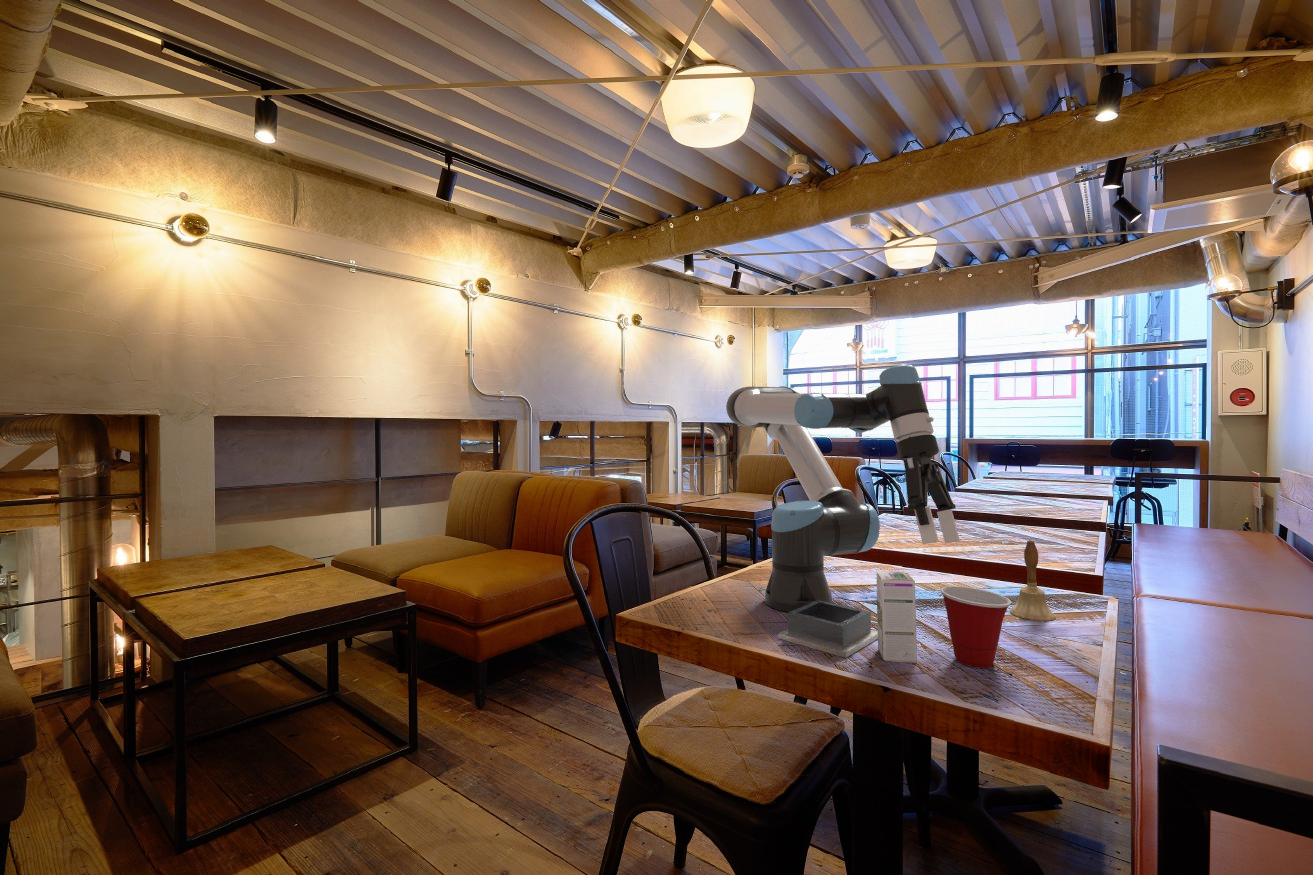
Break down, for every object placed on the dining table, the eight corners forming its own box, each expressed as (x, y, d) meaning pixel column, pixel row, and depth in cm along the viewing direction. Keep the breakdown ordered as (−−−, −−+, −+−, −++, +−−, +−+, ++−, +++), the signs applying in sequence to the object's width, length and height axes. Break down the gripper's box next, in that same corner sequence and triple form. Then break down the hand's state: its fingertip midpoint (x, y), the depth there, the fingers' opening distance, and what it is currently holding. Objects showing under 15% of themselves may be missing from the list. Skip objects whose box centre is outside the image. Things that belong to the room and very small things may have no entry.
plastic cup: (1023, 676, 94) (1023, 603, 93) (952, 673, 95) (952, 601, 95) (995, 651, 104) (995, 585, 104) (932, 648, 106) (932, 583, 106)
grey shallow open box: (778, 638, 112) (778, 612, 112) (815, 620, 122) (815, 597, 122) (846, 657, 102) (845, 629, 102) (880, 637, 112) (880, 611, 112)
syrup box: (917, 663, 99) (917, 579, 99) (881, 661, 101) (881, 578, 100) (910, 650, 105) (909, 571, 105) (876, 648, 106) (875, 570, 106)
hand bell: (1039, 623, 118) (1039, 546, 118) (1001, 612, 126) (1000, 539, 126) (1064, 617, 122) (1064, 542, 122) (1025, 606, 129) (1025, 536, 129)
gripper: (912, 424, 106) (942, 539, 100) (952, 440, 124) (979, 539, 118) (872, 435, 111) (899, 546, 105) (917, 449, 129) (942, 544, 123)
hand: (942, 542), depth 112 cm, fingers open, 13 cm apart
